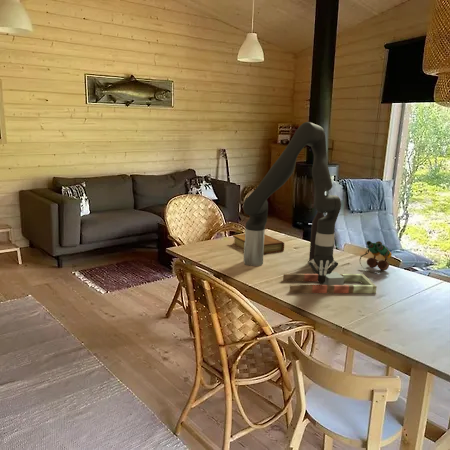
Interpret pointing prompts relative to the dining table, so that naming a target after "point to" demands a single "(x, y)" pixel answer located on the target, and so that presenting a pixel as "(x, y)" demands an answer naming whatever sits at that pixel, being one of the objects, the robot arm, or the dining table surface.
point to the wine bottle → (314, 234)
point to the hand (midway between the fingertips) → (321, 283)
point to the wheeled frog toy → (377, 250)
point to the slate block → (334, 279)
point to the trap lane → (365, 288)
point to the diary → (269, 243)
